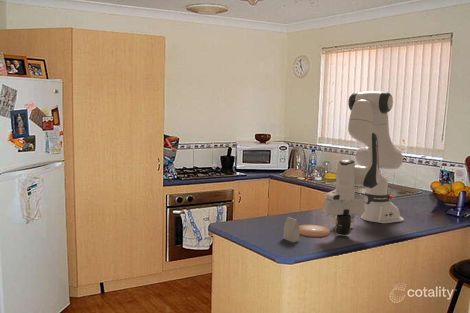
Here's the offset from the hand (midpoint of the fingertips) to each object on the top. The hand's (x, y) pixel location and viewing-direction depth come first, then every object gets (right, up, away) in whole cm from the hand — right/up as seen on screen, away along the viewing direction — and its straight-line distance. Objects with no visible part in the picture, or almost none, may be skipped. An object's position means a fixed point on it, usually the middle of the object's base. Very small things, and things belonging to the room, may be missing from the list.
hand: (343, 223), depth 234 cm
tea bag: (-25, -7, -7) cm, 27 cm away
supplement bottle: (0, -5, +1) cm, 5 cm away
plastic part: (+2, -5, +17) cm, 17 cm away
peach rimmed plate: (-13, -5, +6) cm, 16 cm away
